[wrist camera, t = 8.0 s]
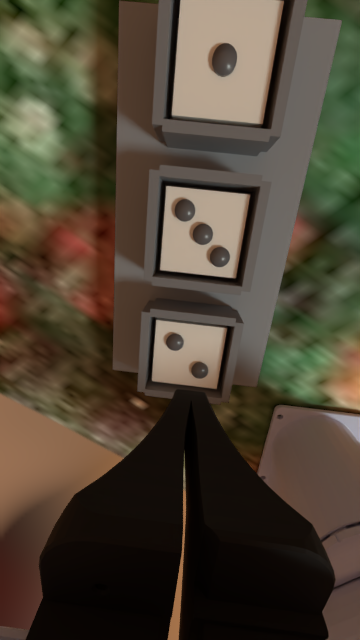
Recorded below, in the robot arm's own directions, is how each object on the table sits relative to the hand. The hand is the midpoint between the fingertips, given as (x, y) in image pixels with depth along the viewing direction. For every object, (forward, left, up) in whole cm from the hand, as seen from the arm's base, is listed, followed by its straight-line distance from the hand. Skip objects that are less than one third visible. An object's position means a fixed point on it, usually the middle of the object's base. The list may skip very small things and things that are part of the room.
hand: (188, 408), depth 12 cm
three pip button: (+7, 0, -7) cm, 10 cm away
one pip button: (+15, 0, -7) cm, 17 cm away
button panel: (+8, 0, -9) cm, 12 cm away
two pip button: (0, 0, -7) cm, 7 cm away
